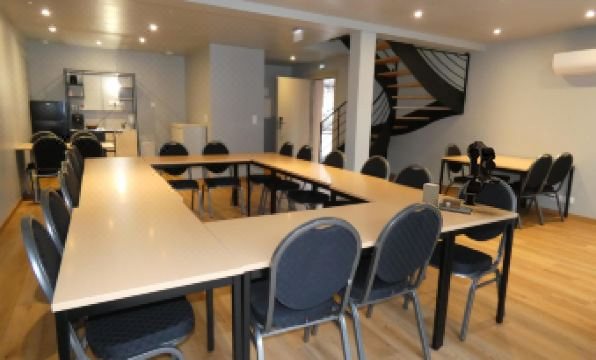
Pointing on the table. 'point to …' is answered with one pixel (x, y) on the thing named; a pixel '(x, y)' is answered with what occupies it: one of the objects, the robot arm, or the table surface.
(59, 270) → the table surface
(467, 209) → the board
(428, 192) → the skincare box
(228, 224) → the table surface
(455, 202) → the tan rectangular box
